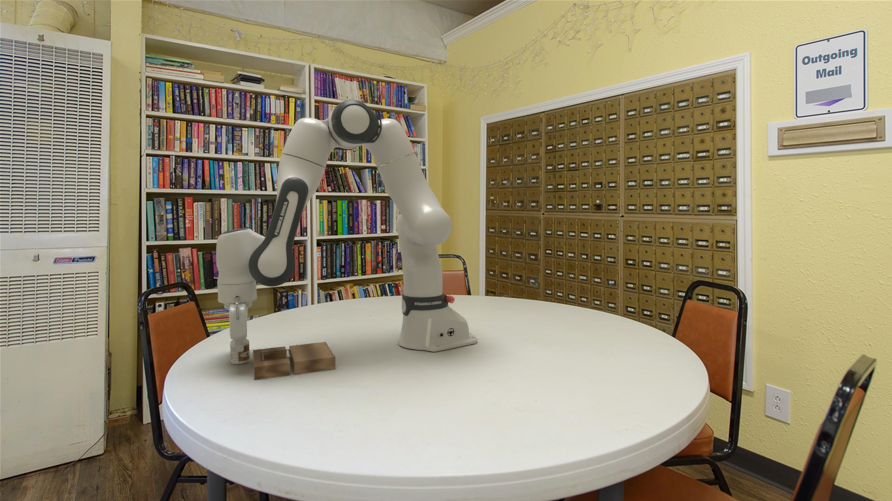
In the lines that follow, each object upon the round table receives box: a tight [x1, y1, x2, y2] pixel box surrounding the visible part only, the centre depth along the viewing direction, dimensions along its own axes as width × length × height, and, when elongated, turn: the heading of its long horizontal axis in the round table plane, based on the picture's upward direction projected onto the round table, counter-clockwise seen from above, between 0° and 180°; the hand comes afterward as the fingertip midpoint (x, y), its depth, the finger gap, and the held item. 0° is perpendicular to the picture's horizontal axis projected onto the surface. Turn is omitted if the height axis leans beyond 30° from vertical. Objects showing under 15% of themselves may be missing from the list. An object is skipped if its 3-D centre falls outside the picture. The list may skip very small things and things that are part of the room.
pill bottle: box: [229, 337, 251, 365], centre depth 118 cm, size 4×4×8 cm
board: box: [252, 341, 336, 381], centre depth 116 cm, size 18×14×3 cm
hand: (240, 347), depth 118 cm, fingers closed on pill bottle, 4 cm apart
